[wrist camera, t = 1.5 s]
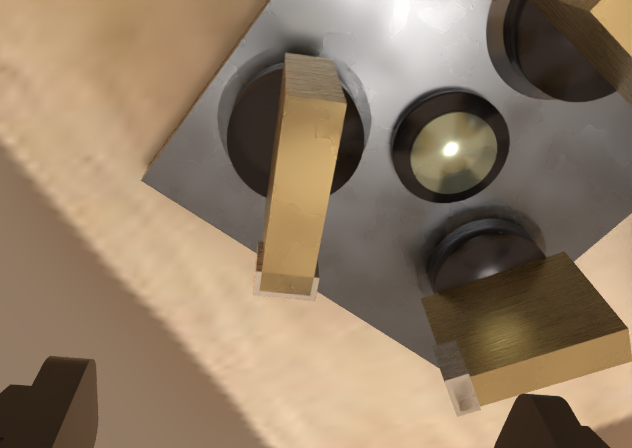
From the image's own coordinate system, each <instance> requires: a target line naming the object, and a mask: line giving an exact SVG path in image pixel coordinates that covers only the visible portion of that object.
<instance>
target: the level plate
mask: <svg viewBox="0 0 632 448" xmlns="http://www.w3.org/2000/svg"><path fill="white" fill-rule="evenodd" d="M509 2H510V0H268V1H267V2H266V4H265V5H264V6H263V8H262V9H261V11H260V12H259V13H258V15H257V16H256V18H255V19H254V20H253V22H252V23H251V25H250V26H249V27H248V29H247V30H246V31H245V33H244V34H243V36H242V37H241V38H240V40H239V41H238V43H237V44H236V45H235V47H234V48H233V50H232V51H231V52H230V54H229V55H228V57H227V58H226V59H225V61H224V62H223V64H222V65H221V66H220V68H219V69H218V71H217V72H216V73H215V75H214V76H213V77H212V79H211V80H210V82H209V83H208V84H207V86H206V87H205V89H204V90H203V91H202V93H201V94H200V96H199V97H198V98H197V100H196V101H195V103H194V104H193V105H192V107H191V108H190V110H189V111H188V112H187V114H186V115H185V116H184V118H183V119H182V121H181V122H180V123H179V125H178V126H177V128H176V129H175V130H174V132H173V133H172V135H171V136H170V137H169V139H168V140H167V142H166V143H165V144H164V146H163V147H162V149H161V150H160V151H159V153H158V154H157V156H156V157H155V158H154V160H153V161H152V162H151V164H150V165H149V167H148V168H147V170H146V172H145V174H144V176H143V178H142V180H141V181H143V182H144V183H146V184H147V185H149V186H151V187H152V188H154V189H155V190H157V191H159V192H160V193H162V194H163V195H165V196H167V197H168V198H170V199H171V200H173V201H174V202H176V203H178V204H179V205H181V206H182V207H184V208H186V209H187V210H189V211H190V212H192V213H194V214H195V215H197V216H198V217H200V218H201V219H203V220H205V221H206V222H208V223H209V224H211V225H213V226H214V227H216V228H217V229H219V230H221V231H222V232H224V233H225V234H227V235H229V236H230V237H232V238H233V239H235V240H236V241H238V242H240V243H241V244H243V245H244V246H246V247H248V248H249V249H251V250H252V251H254V252H256V253H257V248H258V241H263V226H264V213H265V205H266V198H265V197H263V196H261V195H260V194H258V193H256V192H255V191H253V190H252V189H251V188H250V187H248V186H247V185H246V184H245V183H244V182H243V181H242V179H241V178H240V177H239V176H238V174H237V173H236V171H235V169H234V168H233V165H232V163H231V161H230V158H229V154H228V150H227V129H228V123H229V120H230V116H231V112H232V108H233V105H234V102H235V99H236V97H237V95H238V93H239V92H240V90H241V89H242V87H243V86H244V85H245V84H246V82H247V81H248V80H249V79H250V78H252V77H253V76H254V75H255V74H257V73H258V72H260V71H261V70H263V69H265V68H267V67H269V66H272V65H275V64H278V63H283V62H284V59H285V53H292V54H299V55H305V56H312V57H318V58H325V59H332V60H333V62H334V66H335V69H336V72H337V75H338V78H339V79H340V80H341V81H342V82H343V83H344V84H345V86H346V87H347V88H348V90H349V91H350V93H351V94H352V96H353V99H354V101H355V103H356V106H357V109H358V111H359V114H360V117H361V120H362V123H363V128H364V150H363V154H362V158H361V161H360V163H359V165H358V168H357V169H356V171H355V173H354V174H353V176H352V177H351V178H350V179H349V181H348V182H347V183H346V184H345V185H344V186H343V187H341V188H340V189H339V190H337V191H336V192H335V193H333V194H331V195H330V196H329V201H328V206H327V211H326V217H325V222H324V227H323V232H322V238H321V243H320V248H319V253H318V267H319V277H320V278H319V283H318V289H317V291H318V292H319V293H321V294H322V295H324V296H325V297H327V298H329V299H330V300H332V301H333V302H335V303H337V304H338V305H340V306H341V307H343V308H345V309H346V310H348V311H349V312H351V313H353V314H354V315H356V316H357V317H359V318H360V319H362V320H364V321H365V322H367V323H368V324H370V325H372V326H373V327H375V328H376V329H378V330H380V331H381V332H383V333H384V334H386V335H387V336H389V337H391V338H392V339H394V340H395V341H397V342H399V343H400V344H402V345H403V346H405V347H407V348H408V349H410V350H411V351H413V352H415V353H416V354H418V355H419V356H421V357H422V358H424V359H426V360H427V361H429V362H430V363H432V364H434V365H435V366H437V367H438V368H440V367H439V364H438V361H437V358H436V355H435V352H434V349H433V346H436V345H437V344H436V341H435V338H434V335H433V332H432V329H431V327H430V324H429V321H428V318H427V315H426V312H425V310H424V307H423V304H422V301H421V298H424V297H427V296H430V295H433V294H434V293H433V290H432V288H431V285H430V282H429V278H428V266H429V262H430V259H431V256H432V254H433V252H434V250H435V249H436V247H437V246H438V244H439V243H440V242H441V241H442V240H443V239H444V238H445V237H446V236H447V235H448V234H450V233H451V232H452V231H454V230H455V229H457V228H459V227H461V226H463V225H465V224H467V223H470V222H473V221H477V220H482V219H502V220H507V221H510V222H513V223H515V224H517V225H519V226H520V227H522V228H523V229H524V230H525V231H527V232H528V234H529V235H530V236H531V237H532V239H533V240H534V241H535V243H536V244H537V245H538V247H539V248H540V249H541V251H542V252H543V253H544V255H545V256H546V257H548V256H551V255H554V254H558V253H561V252H564V251H565V252H566V254H567V255H568V256H569V257H570V258H571V260H572V261H573V262H574V261H575V260H576V259H577V258H579V257H580V256H581V255H582V254H583V253H585V252H586V251H587V250H588V249H589V248H590V247H592V246H593V245H594V244H595V243H596V242H598V241H599V240H600V239H601V238H602V237H604V236H605V235H606V234H607V233H608V232H610V231H611V230H612V229H613V228H614V227H616V226H617V225H618V224H619V223H620V222H621V221H623V220H624V219H625V218H626V217H627V216H629V215H630V214H631V213H632V106H631V105H630V104H628V103H627V101H626V100H625V99H624V98H623V97H622V96H621V95H620V94H619V93H618V92H617V91H616V92H615V93H613V94H611V95H608V96H606V97H603V98H600V99H597V100H593V101H588V102H566V101H561V100H558V99H555V98H553V97H550V96H549V95H547V94H545V93H544V92H542V91H541V90H539V89H538V88H537V87H535V86H534V85H532V84H531V83H529V82H528V81H527V80H525V79H524V78H523V77H521V76H520V75H519V74H518V73H517V72H516V71H515V69H514V68H513V67H512V65H511V63H510V62H509V59H508V57H507V55H506V51H505V48H504V42H503V24H504V18H505V14H506V10H507V7H508V4H509Z"/></svg>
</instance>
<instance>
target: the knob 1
mask: <svg viewBox="0 0 632 448" xmlns="http://www.w3.org/2000/svg"><path fill="white" fill-rule="evenodd" d="M227 150H228V154H229V158H230V161H231V163H232V165H233V168H234V169H235V171H236V173H237V174H238V176H239V177H240V178H241V179H242V181H243V182H244V183H245V184H246V185H247V186H248V187H250V188H251V189H252V190H253V191H255V192H256V193H258V194H260V195H261V196H263V197H265V198H266V205H265V213H264V226H263V241H258V248H257V256H256V264H255V276H254V289H253V295H258V296H269V297H279V298H289V299H299V300H310V301H315V299H316V294H317V289H318V283H319V278H320V277H319V267H318V253H319V248H320V243H321V238H322V232H323V227H324V222H325V217H326V211H327V206H328V201H329V196H330V195H331V194H333V193H335V192H336V191H337V190H339V189H340V188H341V187H343V186H344V185H345V184H346V183H347V182H348V181H349V179H350V178H351V177H352V176H353V174H354V173H355V171H356V169H357V168H358V165H359V163H360V161H361V158H362V154H363V150H364V128H363V123H362V120H361V117H360V114H359V111H358V109H357V106H356V103H355V101H354V99H353V96H352V94H351V93H350V91H349V90H348V88H347V87H346V86H345V84H344V83H343V82H342V81H341V80H340V79H339V78H338V75H337V72H336V69H335V66H334V62H333V60H332V59H325V58H318V57H312V56H305V55H299V54H292V53H285V59H284V62H283V63H278V64H275V65H272V66H269V67H267V68H265V69H263V70H261V71H260V72H258V73H257V74H255V75H254V76H253V77H252V78H250V79H249V80H248V81H247V82H246V84H245V85H244V86H243V87H242V89H241V90H240V92H239V93H238V95H237V97H236V99H235V102H234V105H233V108H232V112H231V116H230V120H229V123H228V129H227Z"/></svg>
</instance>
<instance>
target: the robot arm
mask: <svg viewBox="0 0 632 448" xmlns="http://www.w3.org/2000/svg"><path fill="white" fill-rule="evenodd" d="M97 428H98V403H97V379H96V364H95V360H93V359H83V358H69V357H56V356H49V357H48V358H47V359H46V360H45V362H44V363H43V365H42V367H41V369H40V371H39V373H38V375H37V377H36V378H35V380H34V382H33V384H32V386H24V385H10V386H8V387H7V388H6V389H5V390H3V391H2V392H1V393H0V448H94V445H95V440H96V435H97ZM494 448H610V447H609V446H608V445H607V444H606V443H605V442H604V441H603V440H602V439H601V438H600V437H599V436H598V435H597V434H596V433H595V432H594V431H593V430H592V429H591V428H590V427H588V426H581V425H580V423H579V421H578V420H577V418H576V416H575V414H574V413H573V411H572V409H571V408H570V406H569V404H568V403H567V402H566V400H565V399H563V398H562V397H559V396H548V395H535V394H520V395H519V396H518V397H517V398H516V400H515V402H514V404H513V407H512V409H511V411H510V413H509V415H508V417H507V420H506V422H505V424H504V426H503V428H502V430H501V433H500V435H499V437H498V439H497V441H496V444H495V446H494Z"/></svg>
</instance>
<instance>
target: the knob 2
mask: <svg viewBox="0 0 632 448" xmlns="http://www.w3.org/2000/svg"><path fill="white" fill-rule="evenodd" d="M503 42H504V48H505V51H506V55H507V57H508V59H509V62H510V63H511V65H512V67H513V68H514V69H515V71H516V72H517V73H518V74H519V75H520V76H521V77H523V78H524V79H525V80H527V81H528V82H529V83H531V84H532V85H534V86H535V87H537V88H538V89H539V90H541V91H542V92H544V93H545V94H547V95H549V96H550V97H553V98H555V99H558V100H561V101H566V102H588V101H593V100H597V99H600V98H603V97H606V96H608V95H611V94H613V93H615V92H616V91H617V92H618V93H619V94H620V95H621V96H622V97H623V98H624V99H625V100H626V101H627V103H628V104H630V105H631V106H632V0H510V2H509V4H508V7H507V10H506V14H505V18H504V24H503Z"/></svg>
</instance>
